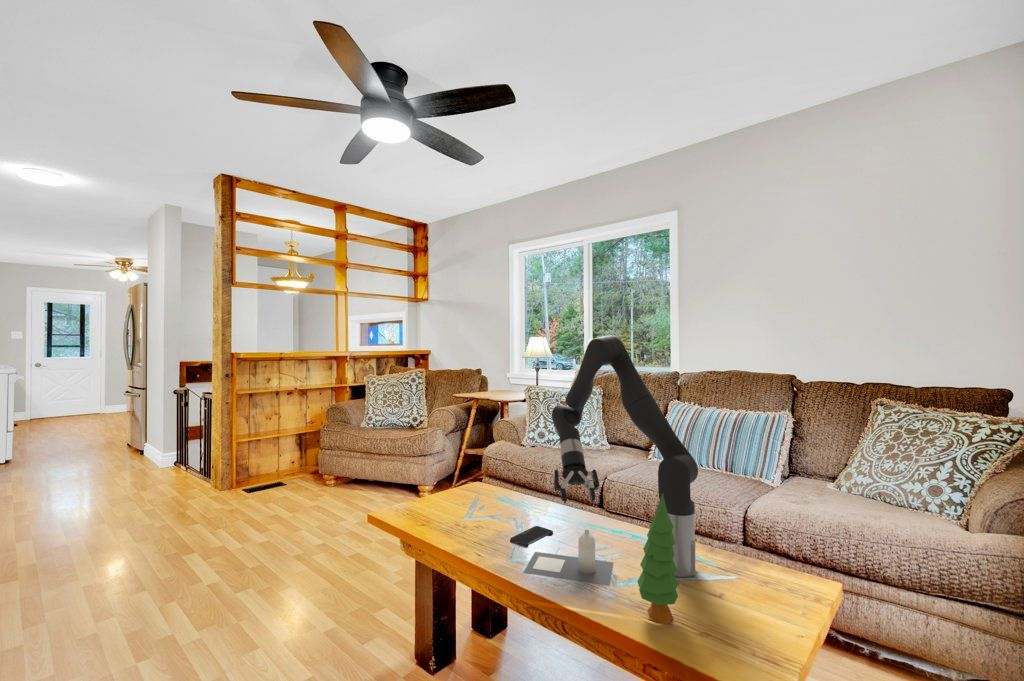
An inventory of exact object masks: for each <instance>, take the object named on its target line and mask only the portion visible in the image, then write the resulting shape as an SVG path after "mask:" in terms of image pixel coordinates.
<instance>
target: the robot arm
mask: <svg viewBox="0 0 1024 681" xmlns="http://www.w3.org/2000/svg"><path fill="white" fill-rule="evenodd" d="M607 365H611V367H612V369H613V370H614V373H615V374H616V376H617V377H618V381H619V384H620V385H619V386H620V397H621V398H620V399H621V403H622V405H623V408H624V409H625V412H626V413H627V415H628V416H629V418H630V420H631V421H632V423H633V424H634V426H635V427H636V428H637V429H639V431H641V432H642V433H643V434H644V435H645V436H646V437H647V438H648V439H649V440H650V441H651V442H652V443H653V444H654V445H655V447H656V449H657V450H658V452H659V454H660V455H661V457H662V458H663V459H662V460H661V461H660V463H659V465H658V469H657V483H658V484H657V485H658V486H657V490H658V500H659V501H660V499H661V496H662V494H663V495H664V501H665V505H666V508H667V512H668V515H669V518H670V520H671V522H672V524H673V527H674V528H673V530H672V532H673V536H674V540H675V544H674V546H673V550H674V554H675V556H674V558H673V561H674V563H675V566H676V568H677V571H675V572H674V575H675V577H676V578H677V577H678V578H688V577H696V539H695V538H696V537H695V535H696V533H695V532H696V530H695V528H696V525H695V524H696V523H695V522H696V520H695V519H696V516H695V514H696V513H695V512H696V508H695V507H696V505H695V502H694V501H693V500H692V498H691V497H692V496H691V484H692V483H693V482H695V481H696V480H697V478H698V475H699V467H698V464H697V462H696V460H695V458H694V457H693V455H692V454H691V453H690V452H689V451H688V449H687V448H686V447H685V445H684V444H683V442H682V441H681V440H680V438H679V437H678V436H677V434H676V433H675V431H674V430H673V428H672V427H671V424H670V423H669V421H668V420H667V418H666V416H665V415H664V413H663V411H662V410H661V408H660V406H659V404H658V403H657V401H656V400H655V398H654V396H653V394H651V392H650V390H649V388H648V387H647V385H646V384H645V382H644V381H643V379H642V377H641V375H640V373H639V372H638V370H637V369H636V367H635V365H634V363H633V361H632V358H631V356H630V355H629V352H628V350H627V348H626V346H625V345H624V343H623V341H622V340H621V339H620V338H619V337H618V336H616V335H613V334H608V335H602V336H598V337H595V338H593V339H591V340H590V341H589V342H588V344H587V347H586V349H585V352H584V355H583V358H582V361H581V363H580V366H579V370H578V373H577V376H576V378H575V380H574V382H573V383H572V385H571V387H570V389H569V391H568V393H567V395H566V396H565V403H566V404H567V405H563V404H557V405H555V406H554V407H553V409H552V411H551V419H552V420H551V421H552V423H553V425H554V427H555V429H556V432H557V434H558V436H559V443H560V444H559V445H560V458H561V466H562V471H559V470H558V469H555V470H554V472H553V488H554V490H555V491H559V493H560V498H561V501H562V502H563V503H564V504H566V503H567V501H568V499H567V498H568V497H567V491H566V489H567V487H568V486H569V485H571V486H574V485H575V486H576V485H577V486H581V485H582V486H583V487H584V488H586V490H588V491H589V492H588V494H589V500H590V501H589V502H590V503H594V501H595V500H596V492H595V491H598V490H599V487H600V480H599V476H598V473H597V470H596V469H592V470H587V467H586V463H585V462H586V461H585V455H584V449H583V446H582V442H581V436H580V431H579V429H578V428H577V426H579V425H580V424H581V422H582V417H583V412H584V409H585V405H586V404H587V402H588V400H589V399H590V397H591V396H592V394H593V389H594V379H595V376H596V374H597V373H598V371H599V370H600V369H601V368H602V367H603V366H607ZM588 476H589V478H590V479H591V480H592V482H591V481H590V479H589V478H588ZM561 477H562V478H564V481H563V483H562V484H560V480H559V479H561Z"/></svg>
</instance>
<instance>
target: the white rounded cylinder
mask: <svg viewBox="0 0 1024 681" xmlns="http://www.w3.org/2000/svg"><path fill="white" fill-rule="evenodd" d="M577 544H578V547H577V548H578V551H577V552H578V555H577V556H578V570H579V571H580V572H581V573H585V574H592V573H594V572H595V560H596V538H595V536H593V534H592V533H590V529H588V528H585V529H584V533H582V534H581V535H580V536H579V537H578V543H577Z"/></svg>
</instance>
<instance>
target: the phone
mask: <svg viewBox="0 0 1024 681" xmlns="http://www.w3.org/2000/svg"><path fill="white" fill-rule="evenodd" d="M553 534H554V531H553V530H552V529H548V528H545V527H543V526H540V525H534V526H532V527H530V528H528V529H526V530H523V531H522V532H520V533H518V534H516V535H514V536H511V537H510V539H509V540H510V542H511V543H514V544H517V545H519V546H522V547H525V548H528V547H529V546H530V545H531V544H534V543H535V542H537V541H539V540H541V539H543V538H545V537H550V536H552V535H553Z"/></svg>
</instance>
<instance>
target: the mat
mask: <svg viewBox="0 0 1024 681" xmlns="http://www.w3.org/2000/svg"><path fill="white" fill-rule="evenodd" d="M613 568H614V561H606V560H598V559H595V572H594V573H592V574H585V573H581V572H580V571H579V570H578V557H577V556H569V555H563V554H554V553H546V552H540V551H534V553H533V555H532V556H531V558H530V560H528V564H527V565H526V566H525V569H524V570H523V572H522V573H523V574H529V575H536V576H541V577H542V576H543V577H548V578H549V577H550V578H555V579H556V578H557V579H563V580H569V581H577V582H581V583H582V582H583V583H590V584H596V585H603V586H611V579H612V572H613Z"/></svg>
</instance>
